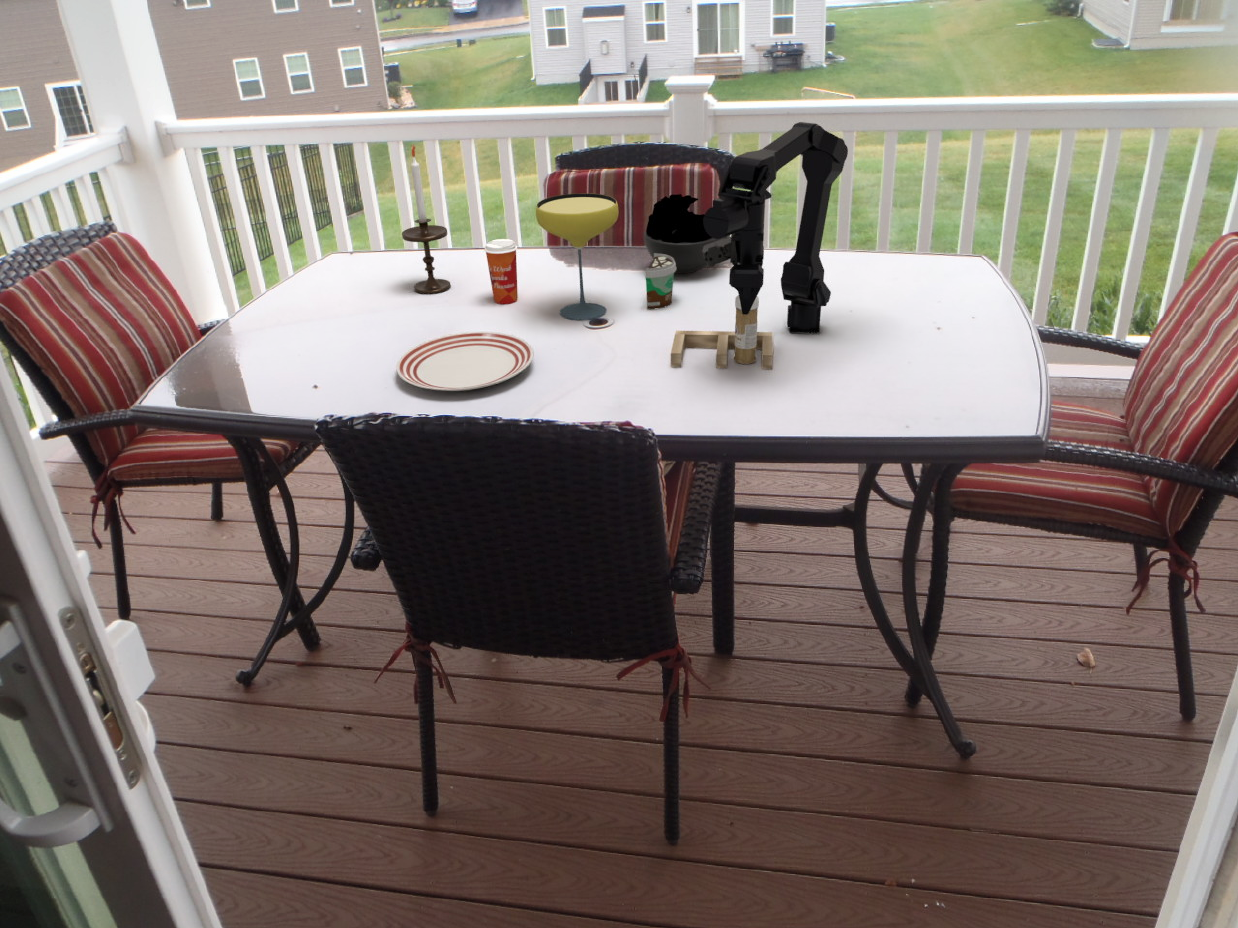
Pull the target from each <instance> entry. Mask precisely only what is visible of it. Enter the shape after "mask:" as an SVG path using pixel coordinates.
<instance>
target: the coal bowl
mask: <svg viewBox="0 0 1238 928" xmlns="http://www.w3.org/2000/svg"><path fill="white" fill-rule="evenodd" d="M698 200H699V198H698V197H697V198H696V197H692V196H691V194H690V195H689V194H687V195H684V196H683V195H682V193H678V194H674V193H673V194H670V195H669V196H666V195H665V196H663V198H661V199H660V200H658V201H656V202H655V203H654V204H653V208H652V213H651V214H650V215H648V220H647V221H648V222H647V225H646V230H645V231H644V233H643V238H644V239H643V240H644V245H645V247H646V249H647V252H648V253H649V255H650V257H651V258H652V259H654V253H657V254H665V255H668V256H671V257H672V258H673V259H674V261H675V264H676V268H677V269H676V271H675V272H674V273H678V274H689V273H694V272H697V271H699V270H701V269H703V268H705V267H706V266H707V264H706V262H705V261H704V255H703V253H702V250H703V247H704V246H705V245H707V244H710V243H713V242H716V241H718V240H721V239H724V237H723V238H720V239H714V238H712V237H711V236H709V235H708V233H707V232H706V230H705V228H704V225H703V218H704V216H705V213H704V214H703V213H702V214H698V213H695V212H694V211H689V208H690V207H691V205H692V204H694V203H695V202H697V201H698Z"/></svg>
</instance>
